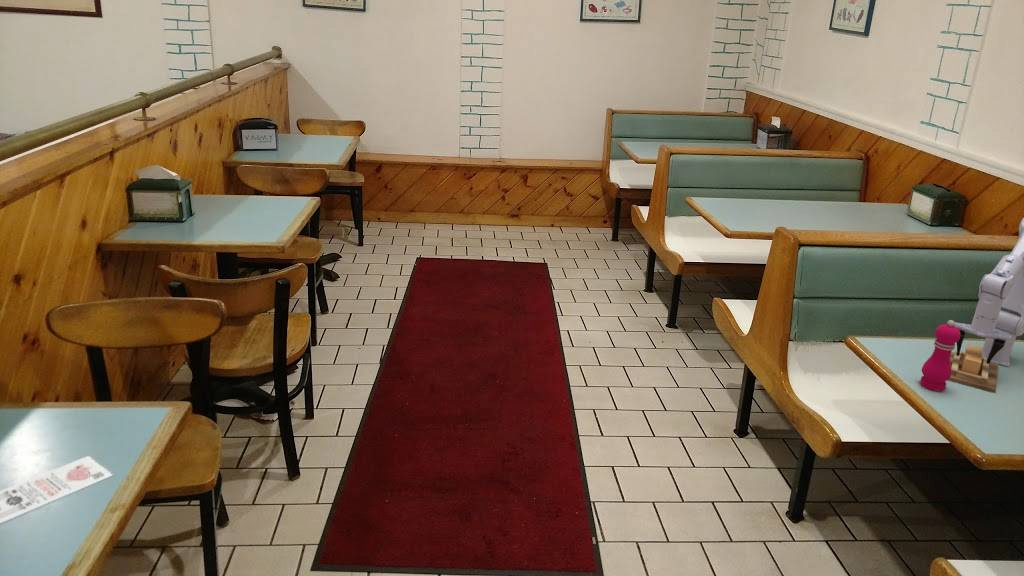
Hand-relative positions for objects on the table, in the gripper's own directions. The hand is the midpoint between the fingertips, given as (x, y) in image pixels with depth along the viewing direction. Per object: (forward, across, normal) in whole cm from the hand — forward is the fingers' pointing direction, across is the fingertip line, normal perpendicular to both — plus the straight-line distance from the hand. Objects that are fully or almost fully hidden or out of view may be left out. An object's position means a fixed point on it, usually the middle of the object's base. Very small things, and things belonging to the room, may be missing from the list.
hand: (972, 358), depth 219 cm
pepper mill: (+5, -8, -17) cm, 19 cm away
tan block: (+3, 0, 0) cm, 3 cm away
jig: (+4, 0, 0) cm, 4 cm away
